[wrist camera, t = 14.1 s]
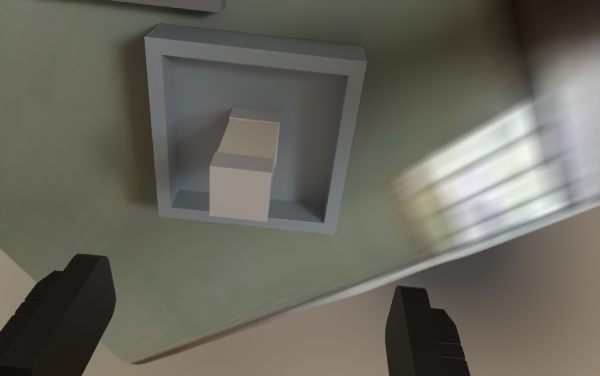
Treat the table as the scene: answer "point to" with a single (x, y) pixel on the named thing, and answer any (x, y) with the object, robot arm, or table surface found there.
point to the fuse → (245, 165)
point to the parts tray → (256, 96)
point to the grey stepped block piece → (185, 4)
